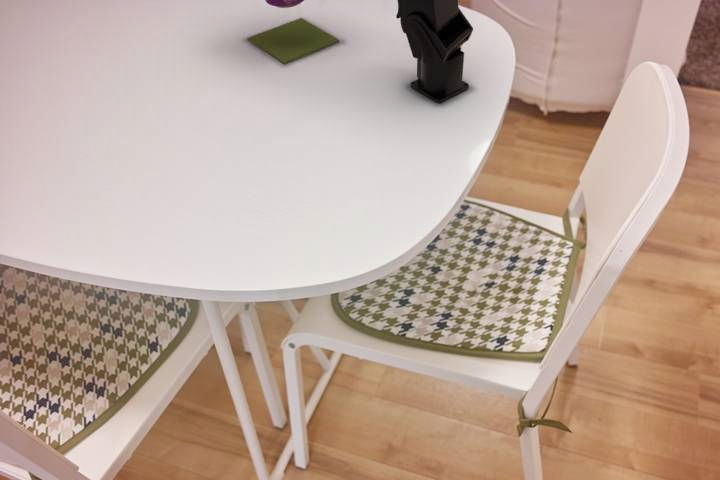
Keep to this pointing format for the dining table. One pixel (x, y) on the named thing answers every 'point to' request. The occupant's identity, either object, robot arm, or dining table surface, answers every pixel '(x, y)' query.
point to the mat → (293, 40)
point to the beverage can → (284, 3)
